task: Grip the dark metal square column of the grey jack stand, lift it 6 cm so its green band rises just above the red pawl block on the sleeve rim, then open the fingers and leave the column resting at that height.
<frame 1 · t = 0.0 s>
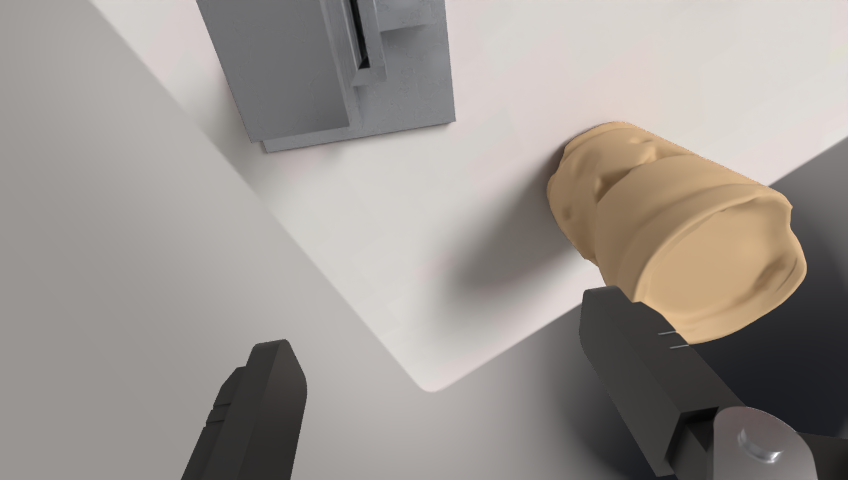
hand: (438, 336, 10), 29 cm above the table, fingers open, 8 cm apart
column: (316, 35, 22), point 11 cm above the table, slide at 0.0 cm
container: (596, 178, 41), on the table
stand: (337, 28, 31), on the table
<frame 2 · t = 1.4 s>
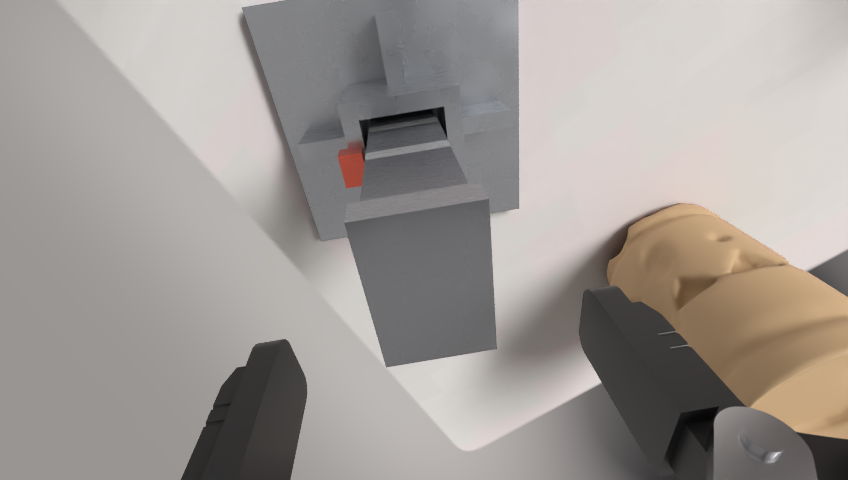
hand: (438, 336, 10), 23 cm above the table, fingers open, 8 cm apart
column: (411, 175, 20), point 11 cm above the table, slide at 0.0 cm
container: (656, 254, 40), on the table
stand: (402, 121, 30), on the table
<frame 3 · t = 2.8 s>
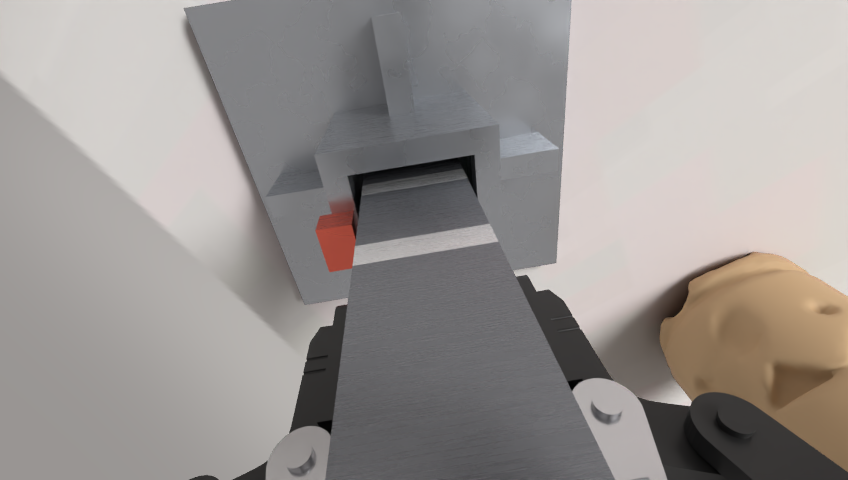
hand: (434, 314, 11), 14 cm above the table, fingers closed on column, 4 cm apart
column: (427, 266, 13), point 11 cm above the table, slide at 0.0 cm, touching gripper
container: (717, 310, 32), on the table
stand: (409, 157, 23), on the table
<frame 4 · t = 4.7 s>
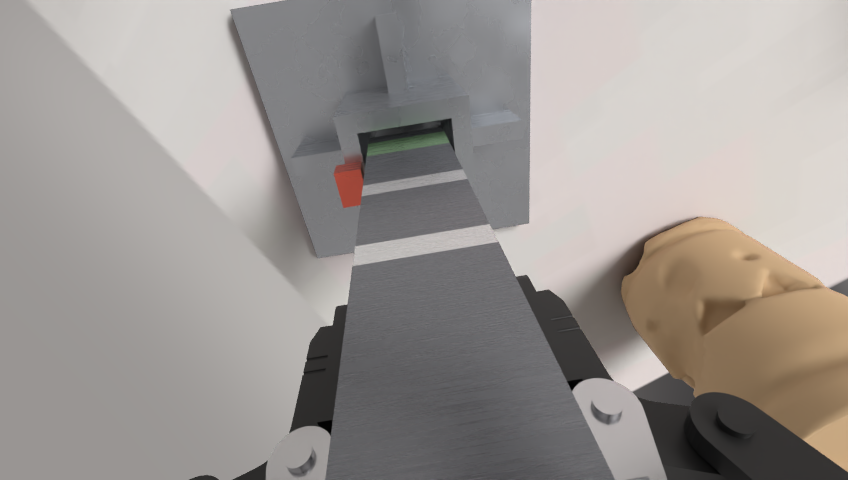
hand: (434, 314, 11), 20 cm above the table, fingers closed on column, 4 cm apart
column: (427, 267, 13), point 17 cm above the table, slide at 5.9 cm, touching gripper
container: (672, 270, 37), on the table
stand: (405, 131, 28), on the table
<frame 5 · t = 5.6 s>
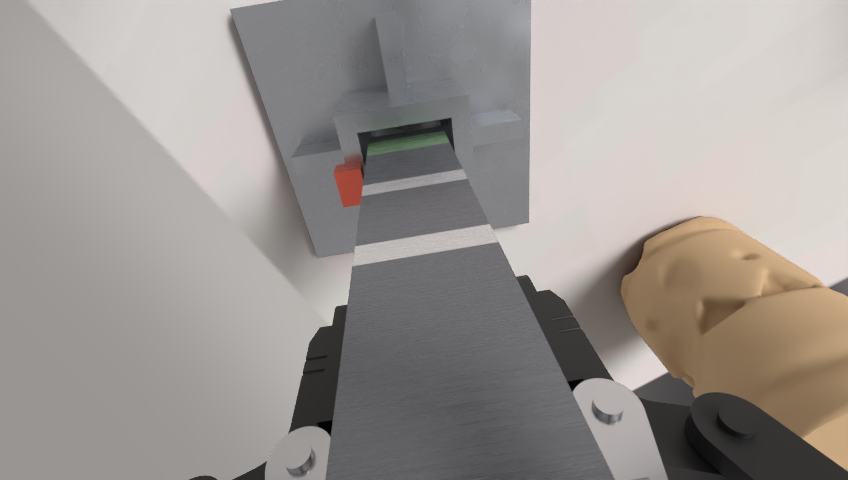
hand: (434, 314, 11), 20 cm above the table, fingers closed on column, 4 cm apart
column: (427, 267, 13), point 17 cm above the table, slide at 5.9 cm, touching gripper
container: (672, 270, 37), on the table
stand: (405, 131, 28), on the table
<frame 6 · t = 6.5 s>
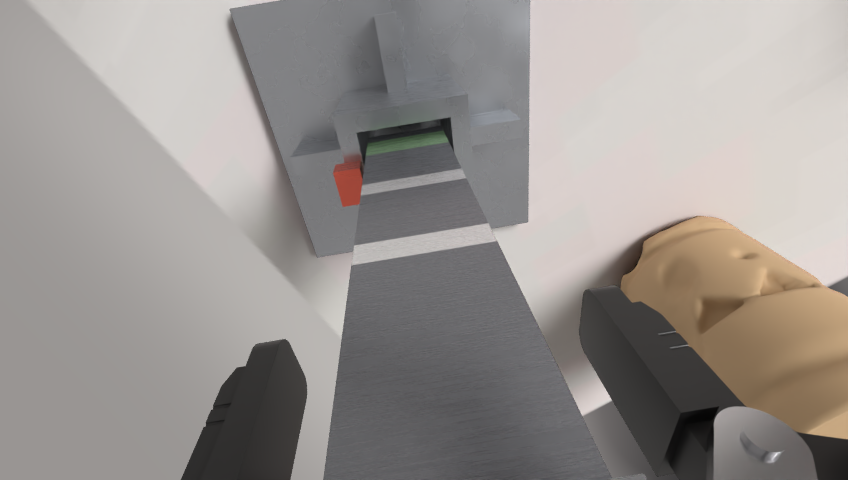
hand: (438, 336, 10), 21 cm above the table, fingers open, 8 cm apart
column: (426, 266, 13), point 17 cm above the table, slide at 5.9 cm
container: (671, 269, 38), on the table
stand: (404, 130, 28), on the table
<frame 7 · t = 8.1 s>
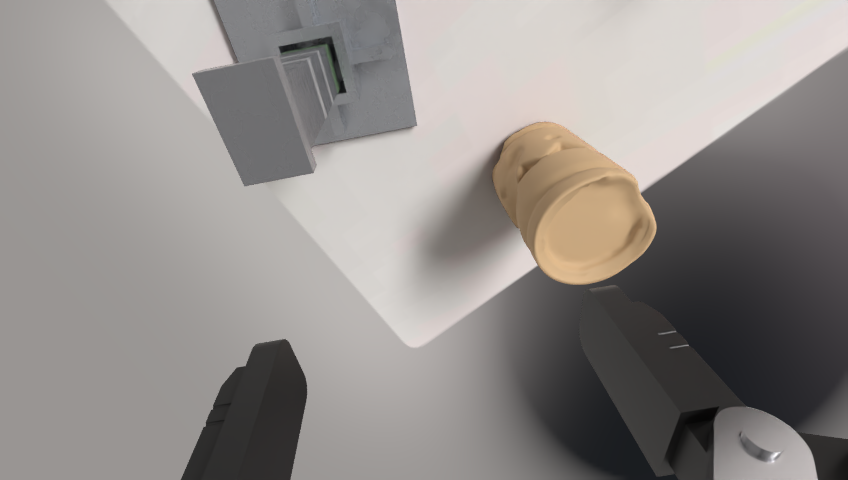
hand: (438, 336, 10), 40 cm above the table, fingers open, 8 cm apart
column: (294, 89, 28), point 17 cm above the table, slide at 5.9 cm
container: (533, 166, 52), on the table
stand: (324, 59, 43), on the table
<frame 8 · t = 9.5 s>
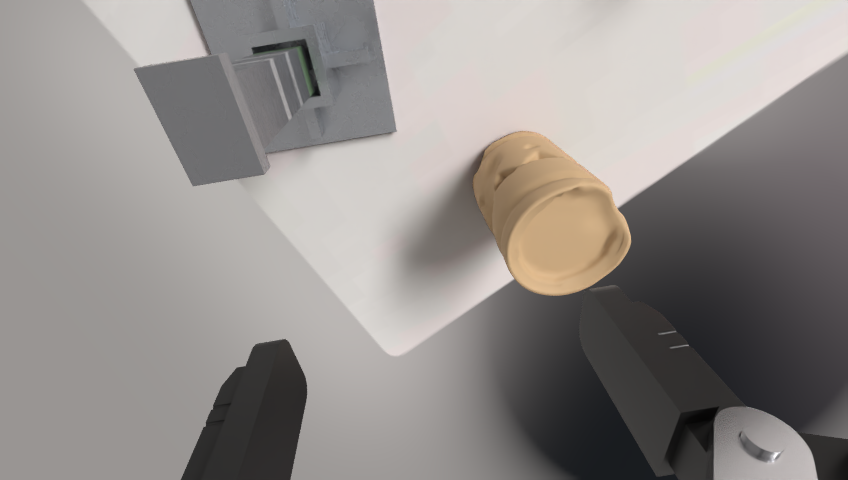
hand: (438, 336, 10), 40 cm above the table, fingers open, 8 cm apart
column: (259, 90, 28), point 17 cm above the table, slide at 5.9 cm
container: (514, 175, 52), on the table
stand: (303, 62, 42), on the table
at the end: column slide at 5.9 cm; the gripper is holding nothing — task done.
